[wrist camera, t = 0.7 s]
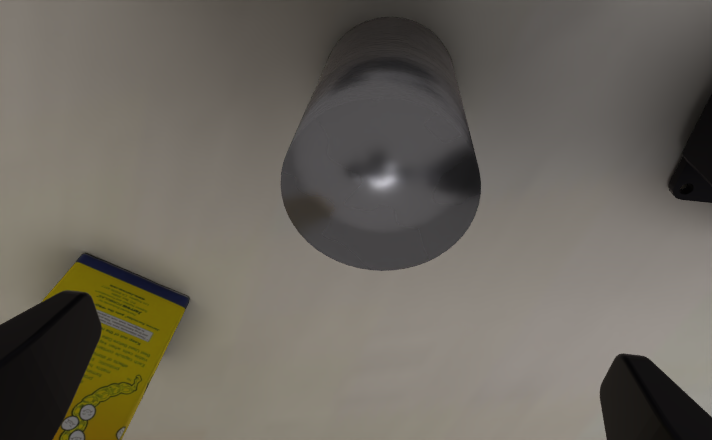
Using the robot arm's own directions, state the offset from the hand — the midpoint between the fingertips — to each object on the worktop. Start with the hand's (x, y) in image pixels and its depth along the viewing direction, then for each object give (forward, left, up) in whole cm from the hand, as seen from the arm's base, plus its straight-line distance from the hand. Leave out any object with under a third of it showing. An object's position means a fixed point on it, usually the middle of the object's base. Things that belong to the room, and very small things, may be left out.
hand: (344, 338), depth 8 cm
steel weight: (0, 0, -13) cm, 13 cm away
